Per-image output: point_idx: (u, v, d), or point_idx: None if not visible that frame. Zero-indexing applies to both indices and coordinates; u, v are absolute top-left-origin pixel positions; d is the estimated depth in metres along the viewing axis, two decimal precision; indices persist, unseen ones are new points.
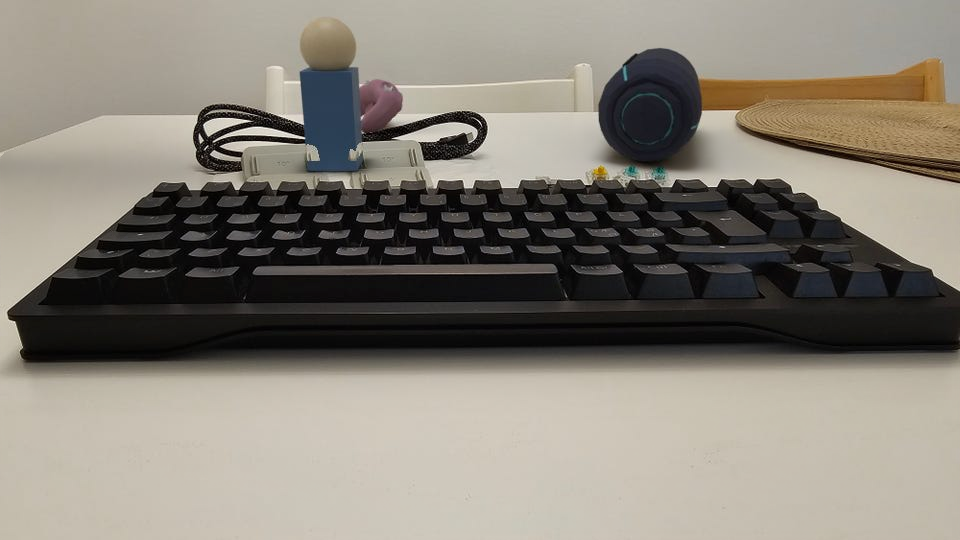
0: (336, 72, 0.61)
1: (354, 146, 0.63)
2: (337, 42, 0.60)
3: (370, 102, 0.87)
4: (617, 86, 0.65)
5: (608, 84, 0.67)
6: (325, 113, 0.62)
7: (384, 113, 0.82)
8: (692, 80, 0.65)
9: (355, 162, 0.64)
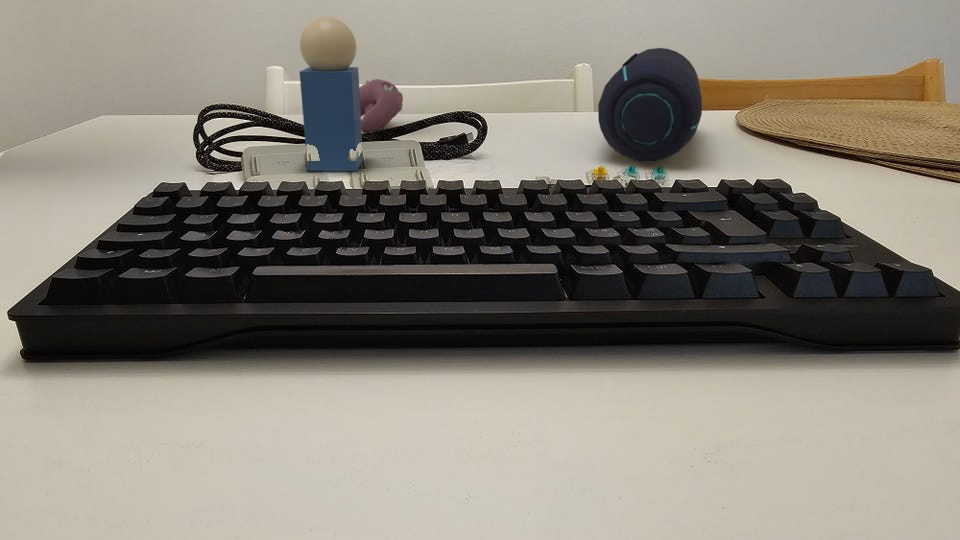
0: (336, 72, 0.61)
1: (354, 146, 0.63)
2: (337, 42, 0.60)
3: (370, 102, 0.87)
4: (617, 86, 0.65)
5: (608, 84, 0.67)
6: (325, 113, 0.62)
7: (384, 113, 0.82)
8: (692, 80, 0.65)
9: (355, 162, 0.64)
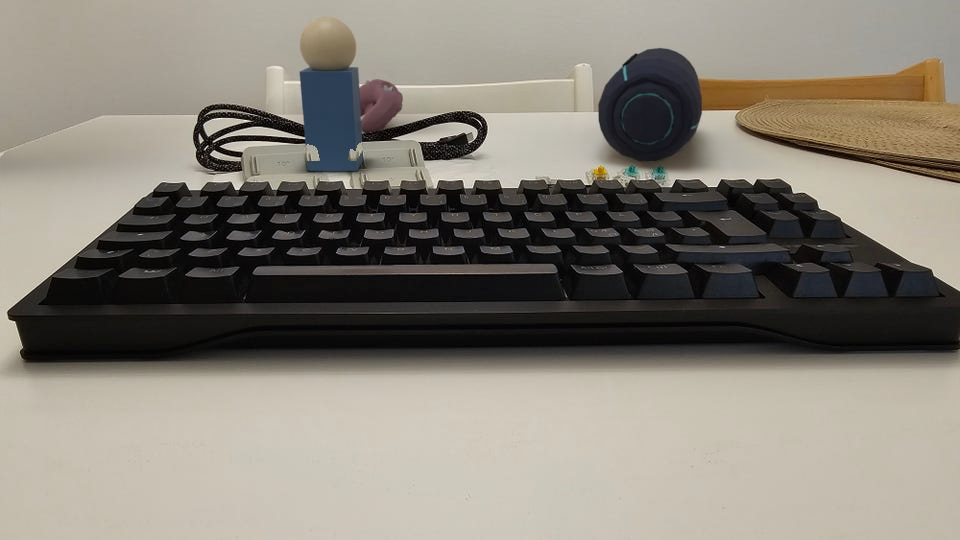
0: (336, 72, 0.61)
1: (354, 146, 0.63)
2: (337, 42, 0.60)
3: (370, 102, 0.87)
4: (617, 86, 0.65)
5: (608, 84, 0.67)
6: (325, 113, 0.62)
7: (384, 113, 0.82)
8: (692, 80, 0.65)
9: (355, 162, 0.64)
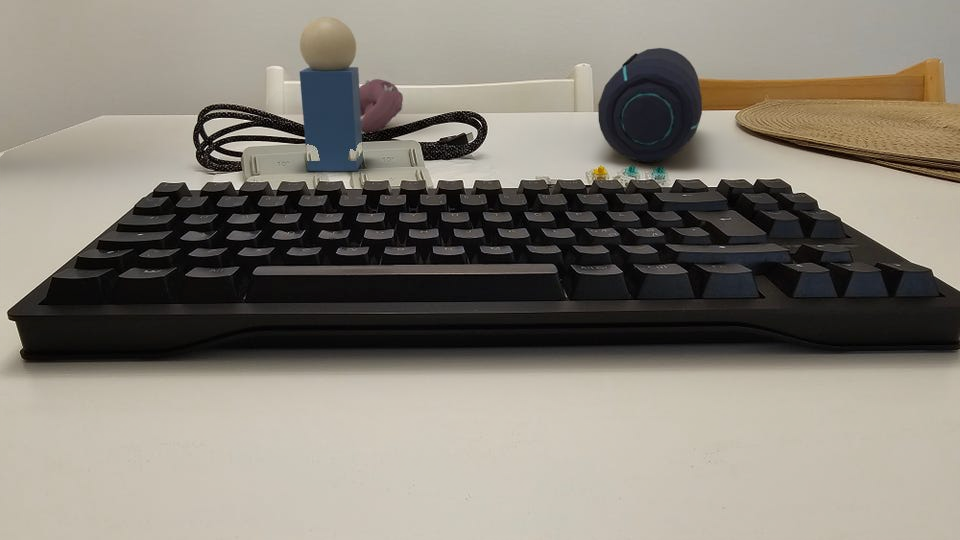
0: (336, 72, 0.61)
1: (354, 146, 0.63)
2: (337, 42, 0.60)
3: (370, 102, 0.87)
4: (617, 86, 0.65)
5: (608, 84, 0.67)
6: (325, 113, 0.62)
7: (384, 113, 0.82)
8: (692, 80, 0.65)
9: (355, 162, 0.64)
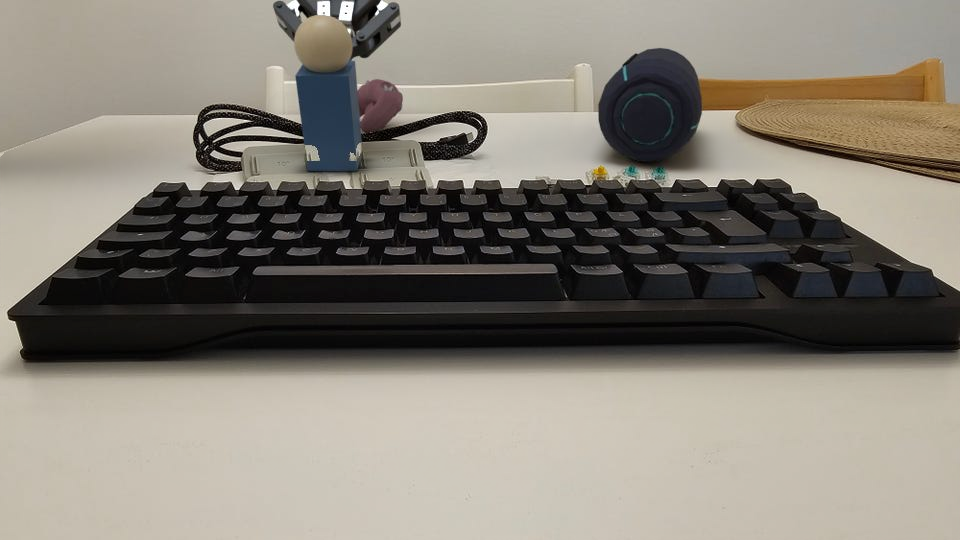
0: (333, 76, 0.60)
1: (353, 147, 0.63)
2: (333, 46, 0.58)
3: (370, 102, 0.87)
4: (617, 86, 0.65)
5: (608, 84, 0.67)
6: (323, 116, 0.61)
7: (384, 113, 0.82)
8: (692, 80, 0.65)
9: (355, 163, 0.64)
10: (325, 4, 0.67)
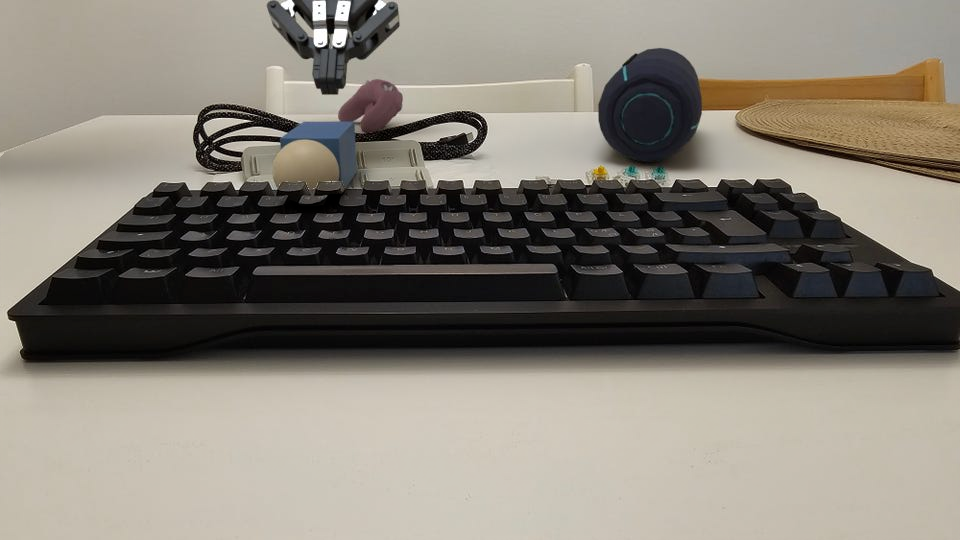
0: None
1: (352, 176, 0.62)
2: None
3: (370, 102, 0.87)
4: (617, 86, 0.65)
5: (608, 84, 0.67)
6: None
7: (384, 113, 0.82)
8: (692, 80, 0.65)
9: (354, 173, 0.63)
10: (321, 4, 0.64)
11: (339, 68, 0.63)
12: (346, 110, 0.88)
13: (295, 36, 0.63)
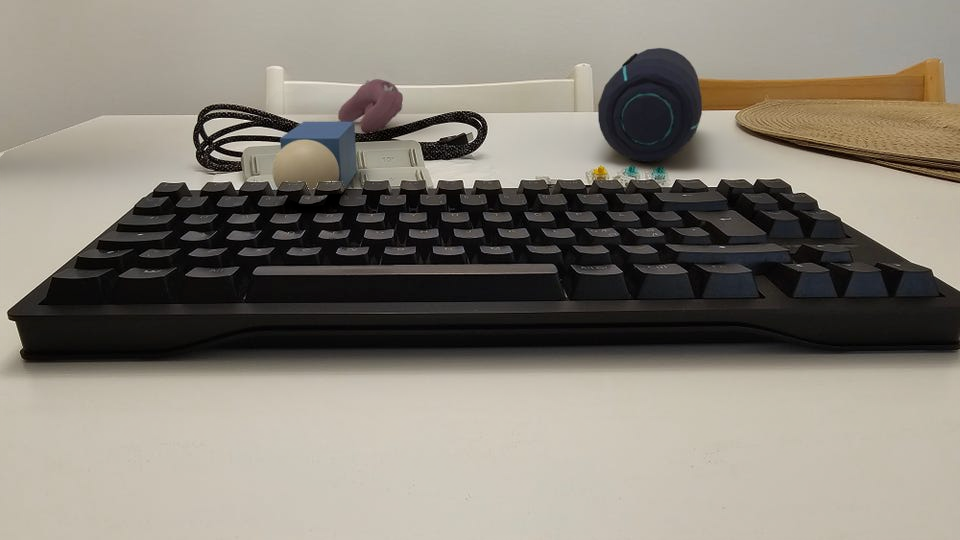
0: None
1: (352, 176, 0.62)
2: None
3: (370, 102, 0.87)
4: (616, 86, 0.65)
5: (608, 84, 0.67)
6: None
7: (384, 113, 0.82)
8: (692, 80, 0.65)
9: (354, 173, 0.63)
10: None
11: None
12: (346, 110, 0.88)
13: None
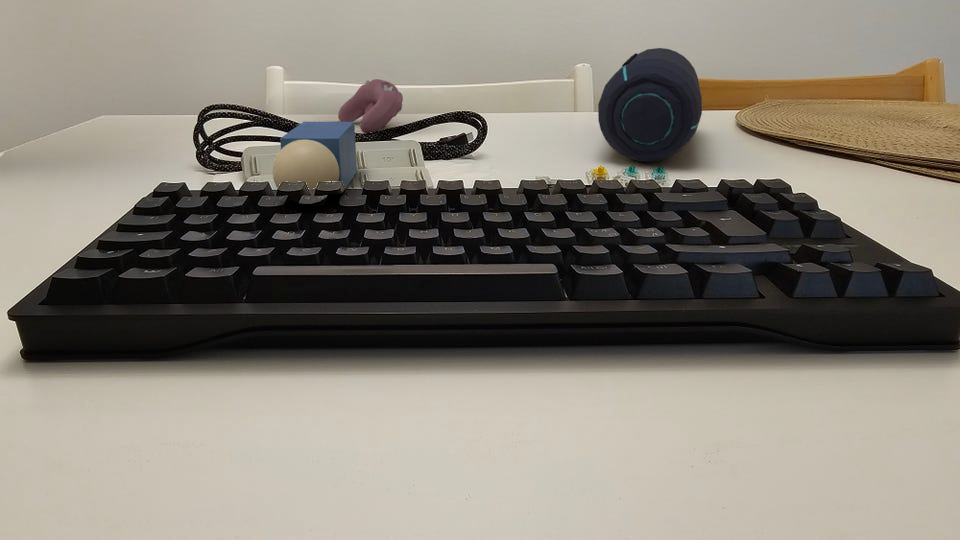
0: None
1: (352, 176, 0.62)
2: None
3: (370, 102, 0.87)
4: (616, 86, 0.65)
5: (608, 84, 0.67)
6: None
7: (384, 113, 0.82)
8: (692, 80, 0.65)
9: (354, 173, 0.63)
10: None
11: None
12: (346, 110, 0.88)
13: None
